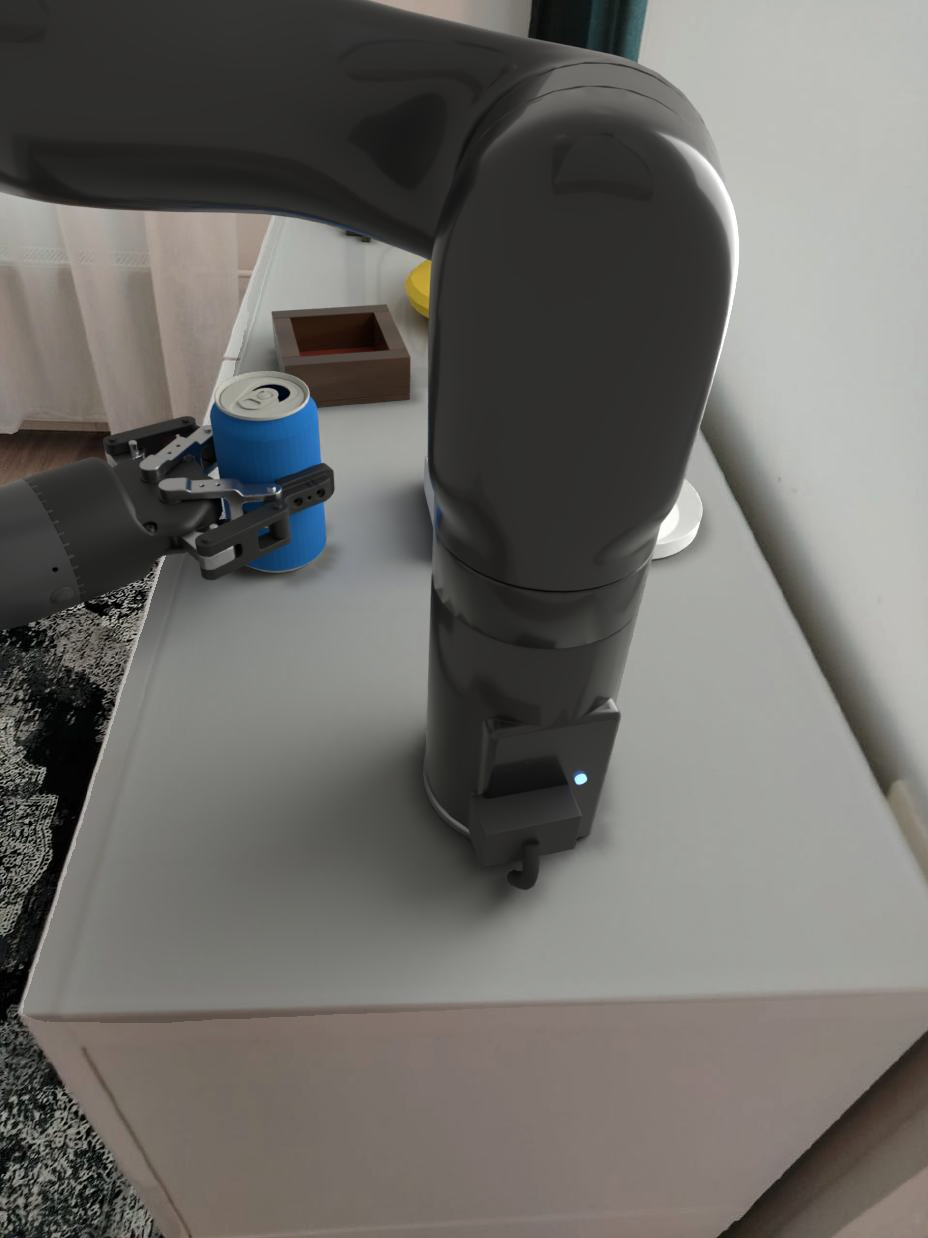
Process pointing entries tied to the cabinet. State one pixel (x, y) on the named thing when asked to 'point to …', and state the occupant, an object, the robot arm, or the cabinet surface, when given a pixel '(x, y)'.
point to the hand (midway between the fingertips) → (300, 452)
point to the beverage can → (270, 452)
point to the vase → (419, 287)
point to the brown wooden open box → (343, 353)
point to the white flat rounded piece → (673, 529)
